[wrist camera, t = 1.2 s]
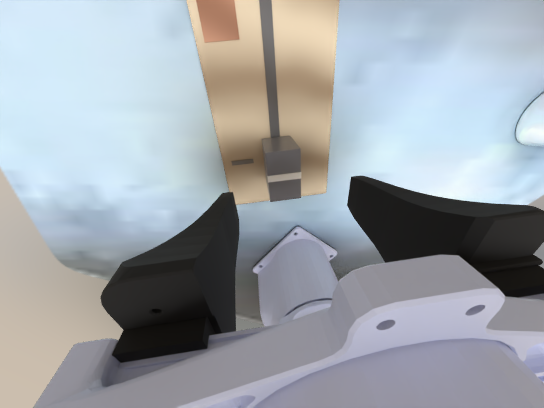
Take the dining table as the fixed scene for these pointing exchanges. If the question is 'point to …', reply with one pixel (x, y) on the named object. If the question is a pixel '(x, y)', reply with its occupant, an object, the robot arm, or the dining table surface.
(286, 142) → the fader knob
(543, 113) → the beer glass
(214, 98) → the fader board
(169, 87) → the dining table surface
